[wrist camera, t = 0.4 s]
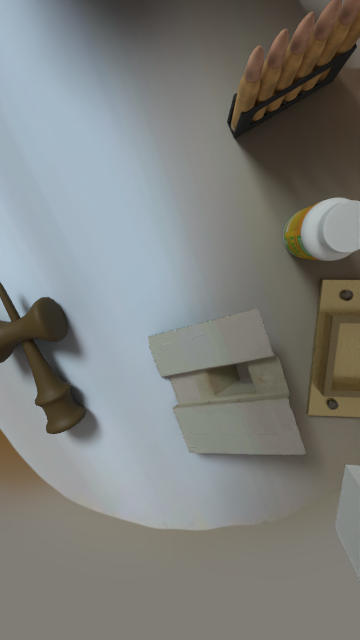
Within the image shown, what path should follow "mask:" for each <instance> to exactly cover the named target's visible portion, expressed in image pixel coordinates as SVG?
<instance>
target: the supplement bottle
mask: <svg viewBox="0 0 360 640" xmlns="http://www.w3.org/2000/svg"><path fill="white" fill-rule="evenodd" d="M283 240H284V244H285V246H286V248H287V250H288V251H289V252H290V253H291V254H292V255H294V256H296V257H298V258H302V259H310V260H322V261H334V260H339V259H342V258H345V257H347V256H348V255H350V254H351V253H353V252H355V251H357V250H359V249H360V201H355V200H352V201H351V200H349V199H346V198H330V199H327V200H324V201H321V202H319V203H317V204H314V205H312V206H309V207H307V208H305V209H302V210H300V211H298V212H296V213H295V214H294V215H293V216H292V217H291V218H290V219H289V220H288V222H287V223H286V225H285V228H284V232H283Z"/></svg>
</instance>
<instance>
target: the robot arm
mask: <svg viewBox="0 0 360 640" xmlns="http://www.w3.org/2000/svg"><path fill="white" fill-rule="evenodd" d="M335 530H336V532H337V534H338V536H339V538H340V541H341V543H342V545H343V547H344V549H345V551H346V553H347V556H348V558H349V560H350V562H351V564H352V566H353V568H354V570H355V573H356V575H357V577H358V579H359V581H360V465H345V471H344V477H343V482H342V488H341V494H340V500H339V505H338V512H337V517H336V523H335Z"/></svg>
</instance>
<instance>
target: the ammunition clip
mask: <svg viewBox="0 0 360 640" xmlns="http://www.w3.org/2000/svg"><path fill="white" fill-rule="evenodd" d="M341 4H342V0H331V2H329V4H328V5H327V6H326V7H325V9H324V10H323V12H322V13H321V15H320V17H319V18H318V20H317V22H316V24H315V25H314V22H315V14H314V12H313V11H312V12H310V13H309V14H307V15H306V17H305V18H304V19H303V20H302V21H301V23H300V24H299V26H298V27H297V29H296V31H295V33H294V35H293V37H292V39H291V41H290V43H289V45H288V41H289V33H288V30H287V29H284V30H282V31H281V32H280V33H279V35H278V36H277V37H276V39H275V40H274V42H273V44H272V46H271V48H270V51H269V54H268V56H267V58H266V61H265V62H264V51H263V48H262V46H261V45H259V46H257V47H256V48H255V49H254V51H253V52H252V54H251V56H250V58H249V60H248V63H247V66H246V69H245V72H244V75H243V77H242V79H241V81H240V84H239V88H238V93H236V94H235V95H234V97H233V101H232V105H231V109H230V113H229V117H228V121H227V123H228V125H229V127H230V130H231V132H232V134H233V137H234V138H237V137H238V136H240V135H242V134H243V133H245V132H247V131H249V130H250V129H252V128H254V127H255V126H257V125H259V124H260V123H262V122H264V121H266V120H267V119H269V118H271V117H272V116H274V115H276V114H277V113H279V112H281V111H283V110H284V109H286V108H288V107H289V106H291V105H293V104H294V103H296V102H298V101H300V100H301V99H303V98H305V97H306V96H308V95H310V94H311V93H313V92H315V91H317V90H318V89H320V88H322V87H323V86H325V85H327V84H328V83H330V82H332V81H333V80H334V78H335V77H336V76H337V74H338V73H339V71H340V70H341V69H342V67H343V66H344V64H345V63H346V61H347V60H348V59H349V57H350V56H351V54H352V53H353V52H354V50H355V49H356V47H357V46H356V41H357V40H358V39H359V37H360V0H345V2H344V3H343V5H342V7H341ZM263 63H264V64H263Z"/></svg>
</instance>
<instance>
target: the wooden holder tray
mask: <svg viewBox="0 0 360 640" xmlns="http://www.w3.org/2000/svg"><path fill="white" fill-rule="evenodd" d="M307 414H308V415H317V416H342V417H360V280H355V279H321V283H320V292H319V301H318V311H317V320H316V329H315V339H314V348H313V357H312V366H311V376H310V385H309V394H308V403H307Z"/></svg>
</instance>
